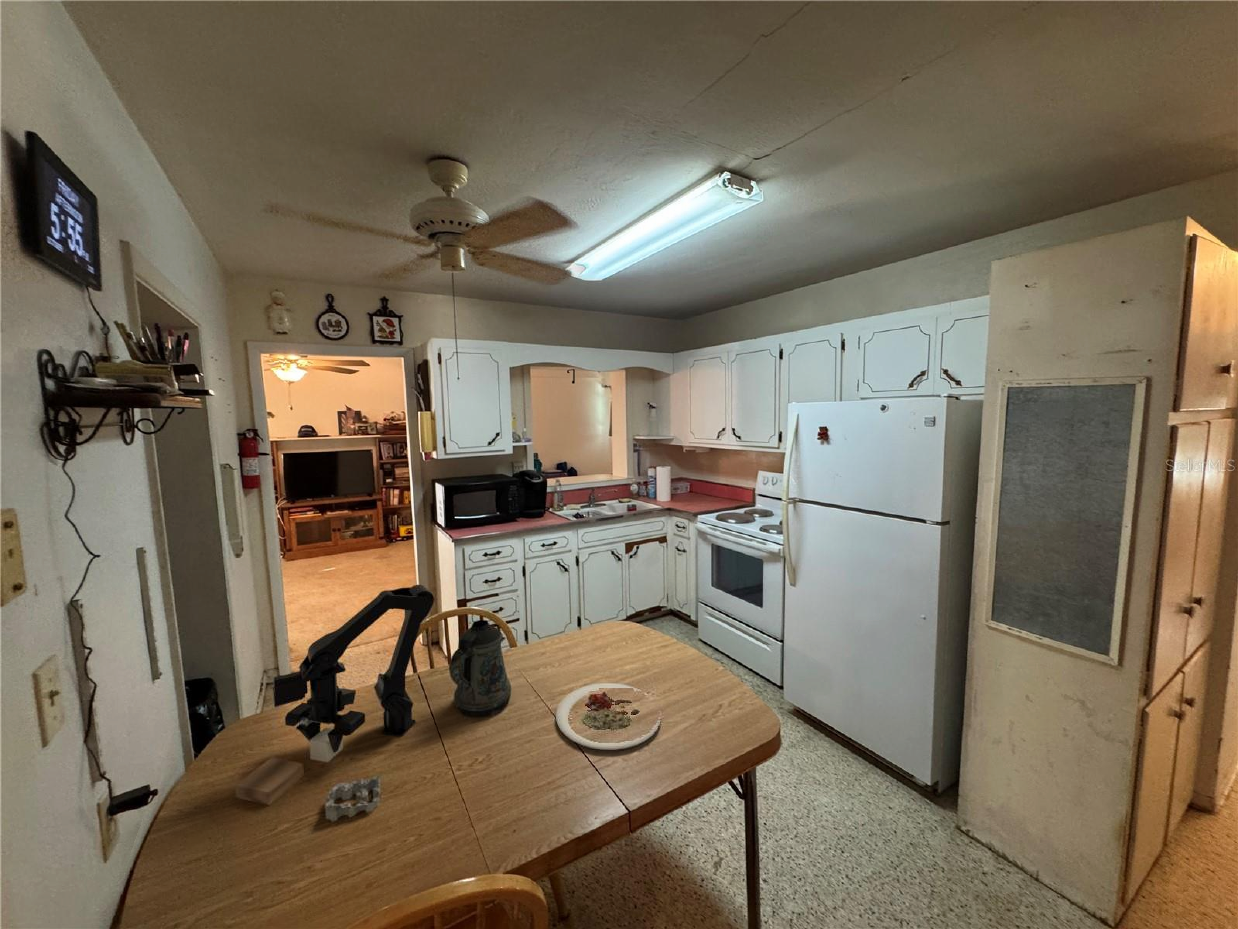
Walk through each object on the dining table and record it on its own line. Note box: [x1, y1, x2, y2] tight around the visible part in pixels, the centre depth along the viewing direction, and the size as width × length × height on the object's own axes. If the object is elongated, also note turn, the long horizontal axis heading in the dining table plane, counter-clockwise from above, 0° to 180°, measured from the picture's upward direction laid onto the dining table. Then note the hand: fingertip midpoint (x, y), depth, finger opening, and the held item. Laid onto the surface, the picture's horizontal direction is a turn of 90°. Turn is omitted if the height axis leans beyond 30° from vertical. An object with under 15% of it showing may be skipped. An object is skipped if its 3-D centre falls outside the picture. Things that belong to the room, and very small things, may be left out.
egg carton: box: [324, 774, 381, 822], centre depth 107 cm, size 11×8×4 cm
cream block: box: [309, 727, 344, 763], centre depth 123 cm, size 5×5×5 cm
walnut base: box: [235, 757, 305, 806], centre depth 112 cm, size 9×9×3 cm
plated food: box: [555, 682, 662, 751], centre depth 140 cm, size 30×30×3 cm
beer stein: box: [448, 619, 512, 719], centre depth 143 cm, size 16×19×25 cm
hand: (326, 749), depth 123 cm, fingers closed on cream block, 5 cm apart
